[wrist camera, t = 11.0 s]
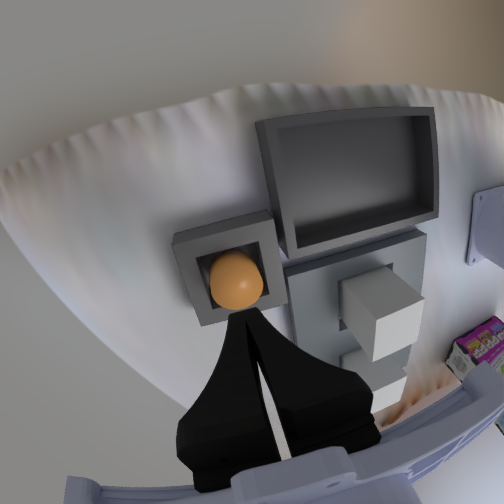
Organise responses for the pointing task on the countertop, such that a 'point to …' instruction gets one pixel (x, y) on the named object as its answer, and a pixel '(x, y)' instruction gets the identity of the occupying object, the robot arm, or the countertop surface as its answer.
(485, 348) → the candy bar box
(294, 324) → the grey slotted board
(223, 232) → the button housing
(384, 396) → the seated block
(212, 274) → the orange button
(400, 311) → the pale grey block
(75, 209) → the countertop surface
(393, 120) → the tote
